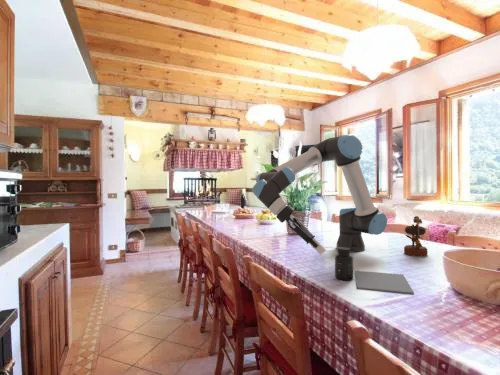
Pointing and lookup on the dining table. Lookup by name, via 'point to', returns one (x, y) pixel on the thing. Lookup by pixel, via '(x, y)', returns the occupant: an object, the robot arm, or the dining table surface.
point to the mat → (382, 282)
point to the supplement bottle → (343, 264)
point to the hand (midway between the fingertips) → (323, 252)
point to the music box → (415, 239)
